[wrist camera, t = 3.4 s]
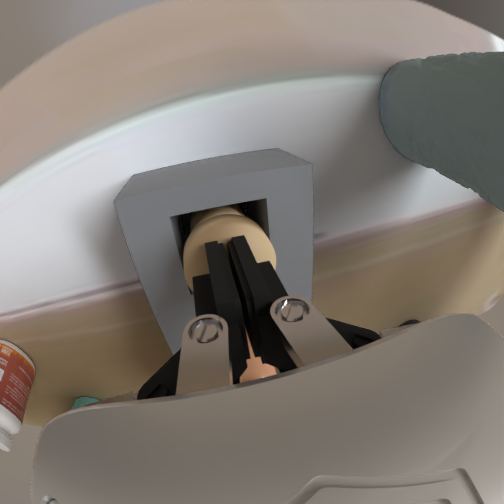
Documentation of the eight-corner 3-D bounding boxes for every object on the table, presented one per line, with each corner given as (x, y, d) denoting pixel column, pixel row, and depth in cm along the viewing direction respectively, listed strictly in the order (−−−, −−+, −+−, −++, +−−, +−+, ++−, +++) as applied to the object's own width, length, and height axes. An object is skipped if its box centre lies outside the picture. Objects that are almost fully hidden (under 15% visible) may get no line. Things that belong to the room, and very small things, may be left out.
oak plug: (243, 179, 16) (273, 216, 11) (250, 238, 18) (278, 294, 13) (177, 191, 15) (173, 236, 10) (190, 250, 17) (195, 312, 12)
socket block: (278, 148, 16) (312, 164, 12) (288, 367, 27) (303, 404, 23) (133, 174, 15) (113, 201, 11) (206, 386, 26) (212, 426, 22)
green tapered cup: (397, 188, 20) (515, 264, 9) (344, 74, 14) (510, 81, 4) (460, 134, 18) (563, 177, 8) (424, 35, 13) (548, 42, 3)
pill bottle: (13, 334, 18) (-20, 425, 8) (46, 373, 21) (28, 459, 12) (-15, 339, 17) (-45, 417, 8) (15, 375, 20) (-4, 450, 11)
